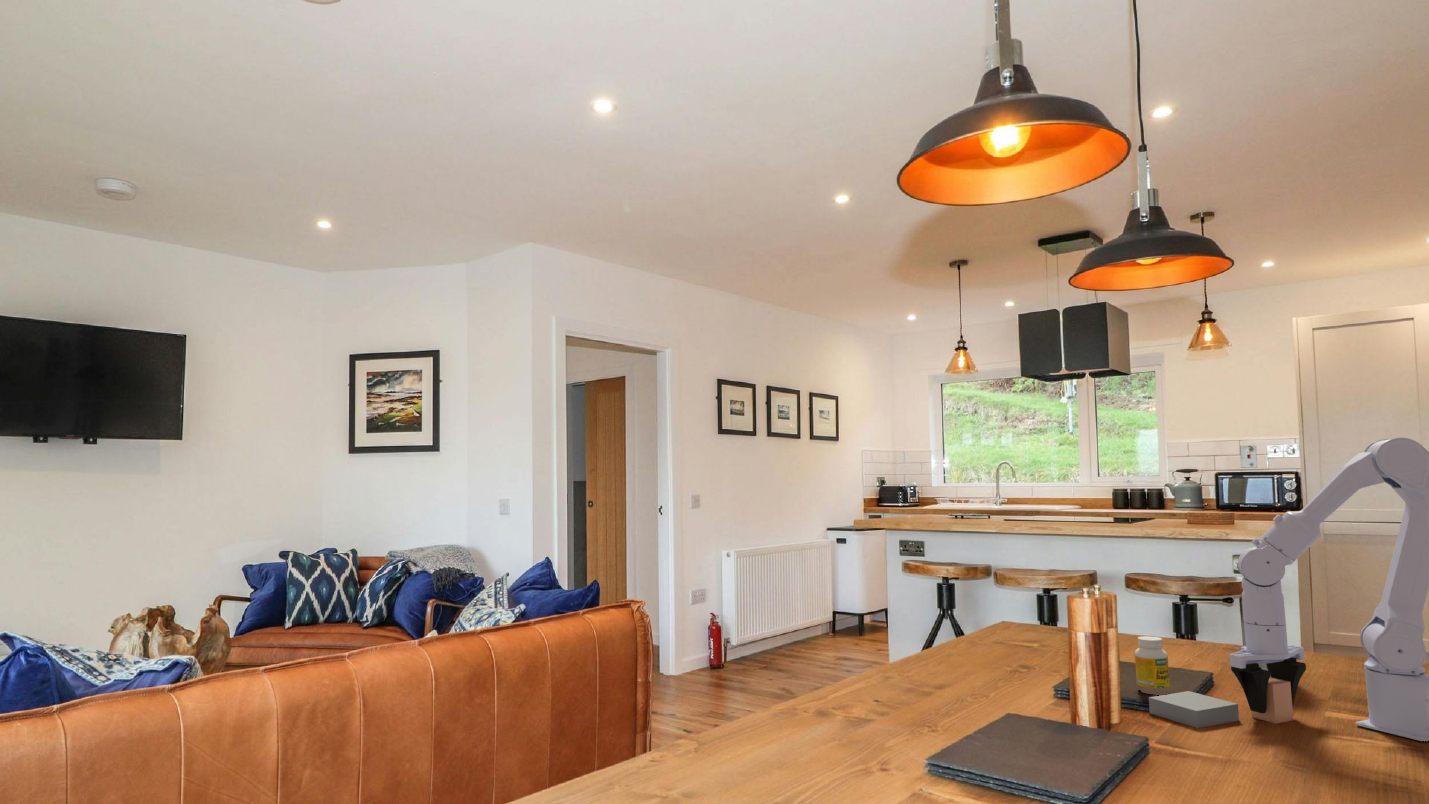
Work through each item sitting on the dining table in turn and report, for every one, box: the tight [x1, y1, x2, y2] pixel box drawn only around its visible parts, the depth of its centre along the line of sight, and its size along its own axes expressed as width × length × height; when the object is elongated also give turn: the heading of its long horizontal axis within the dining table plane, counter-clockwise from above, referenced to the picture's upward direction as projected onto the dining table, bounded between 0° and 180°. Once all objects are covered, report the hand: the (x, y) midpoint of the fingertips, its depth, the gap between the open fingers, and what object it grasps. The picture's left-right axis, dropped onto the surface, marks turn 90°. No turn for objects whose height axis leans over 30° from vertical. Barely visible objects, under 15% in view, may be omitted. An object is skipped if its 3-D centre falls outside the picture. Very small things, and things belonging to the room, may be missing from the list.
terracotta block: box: [1250, 677, 1294, 724], centre depth 136 cm, size 4×4×6 cm
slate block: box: [1148, 690, 1240, 729], centre depth 138 cm, size 9×9×3 cm
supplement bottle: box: [1134, 635, 1171, 688], centre depth 154 cm, size 5×5×10 cm
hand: (1271, 709), depth 136 cm, fingers open, 6 cm apart
